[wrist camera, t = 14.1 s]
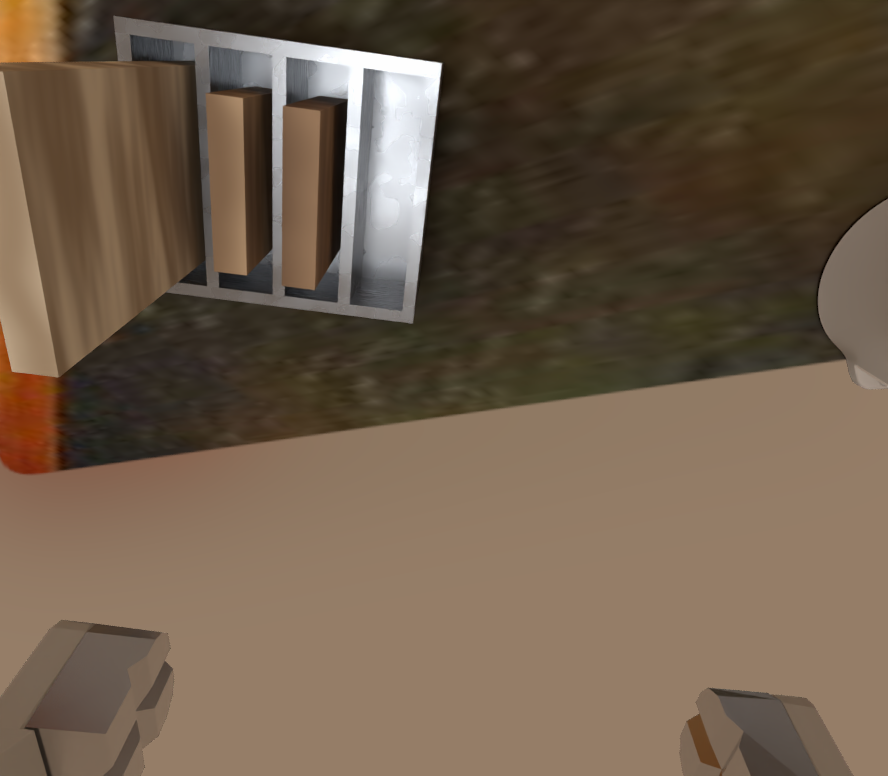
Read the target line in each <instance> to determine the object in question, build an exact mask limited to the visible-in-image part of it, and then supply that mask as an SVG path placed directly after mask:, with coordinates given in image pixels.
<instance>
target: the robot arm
mask: <svg viewBox="0 0 888 776" xmlns="http://www.w3.org/2000/svg"><path fill="white" fill-rule="evenodd" d="M818 311H819V317H820V320H821V323H822V326H823V328H824V330H825V332H826V334H827V335H828V337H829V338H830V340H831V341H832V342H833V343H834V344H835V345H836V346H837V347H838V348H839V349H840V350H841V351H842V353H843V354H844V356H845V357H846V361H847V366H848V371H849V374H850V377H851V379H852V381H853V382H854V383H855V384H857V385H859V386H860V387H862V388H864V389H888V199H887V200H885V201H883V202H882V203H880V204H879V205H877V206H876V207H874V208H873V209H872V210H870V211H869V212H868V213H867V214H865V215H864V216H863V217H862V218H861V219H860V220H858V221H857V222H856V223H855V224H854V225H853V226H852V227H851V228H850V230H849V231H848V232H847V233H846V234H845V235H844V237H843V238H842V239H841V241H840V242H839V243H838V245H837V246H836V248H835V249H834V251H833V253H832V254H831V256H830V258H829V260H828V262H827V264H826V266H825V269H824V272H823V275H822V278H821V281H820V286H819V292H818ZM169 651H170V642H169V636H168V633H162V632H154V631H147V630H140V629H131V628H124V627H116V626H109V625H101V624H94V623H85V622H76V621H67V620H61V621H59V622H58V623H57V624H56V625H54V626H53V627H52V628H51V629H49V630H48V632H47V633H46V635H45V636H44V637H43V639H42V640H41V641H40V643H39V644H38V646H37V647H36V648H35V650H34V651H33V652H32V654H31V655H30V657H29V658H28V659H27V661H26V662H25V664H24V665H23V667H22V668H21V669H20V671H19V672H18V673H17V675H16V676H15V678H14V679H13V680H12V682H11V683H10V684H9V686H8V687H7V689H6V690H5V691H4V693H3V694H2V695H1V697H0V776H141V774H142V772H143V770H144V768H145V765H144V758H143V751H142V749H143V748H144V747H145V746H147V745H148V744H149V743H150V742H152V741H153V740H154V739H155V738H157V737H158V736H159V734H160V731H161V729H162V726H163V724H164V722H165V720H166V717H167V714H168V710H169V707H170V703H171V699H172V695H173V686H174V674H173V668H172V667H170V666H169V664H168V663H167V662H165V659H166V657H167V655H168V653H169ZM696 704H697V707H698V710H699V714H698V715H696V716H694V717H693V718H691V719H689V720H688V721H686V724H685V726H684V729H683V731H682V733H681V738H680V759H681V766H682V771H683V775H684V776H853V774H852V773H851V771H850V769H849V767H848V765H847V764H846V762H845V760H844V758H843V756H842V754H841V753H840V751H839V749H838V747H837V745H836V744H835V742H834V740H833V738H832V736H831V735H830V733H829V731H828V729H827V728H826V726H825V724H824V722H823V720H822V719H821V717H820V715H819V713H818V711H817V710H816V708H815V706H814V705H813V704H812V703H811V702H810V701H809V700H808V699H807V698H802V697H794V696H783V695H770V694H769V693H761V692H750V691H739V690H726V689H715V688H707V689H705V690H704V691H702V692H701V693H700V695H699V697H698V699H697V701H696Z"/></svg>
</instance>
